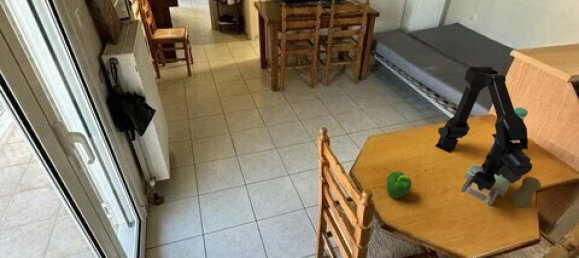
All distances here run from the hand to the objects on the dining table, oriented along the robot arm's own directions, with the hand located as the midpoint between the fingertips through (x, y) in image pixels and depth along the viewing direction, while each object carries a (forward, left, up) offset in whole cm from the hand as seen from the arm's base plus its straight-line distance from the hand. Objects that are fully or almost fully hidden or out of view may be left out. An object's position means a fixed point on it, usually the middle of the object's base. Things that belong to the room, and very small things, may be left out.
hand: (481, 186), depth 115 cm
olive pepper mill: (+12, +6, -4) cm, 14 cm away
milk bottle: (-2, +34, -4) cm, 34 cm away
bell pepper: (-22, -22, -4) cm, 31 cm away
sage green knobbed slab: (0, +8, -3) cm, 9 cm away
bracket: (0, 0, -4) cm, 4 cm away
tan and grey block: (0, 0, -1) cm, 1 cm away
